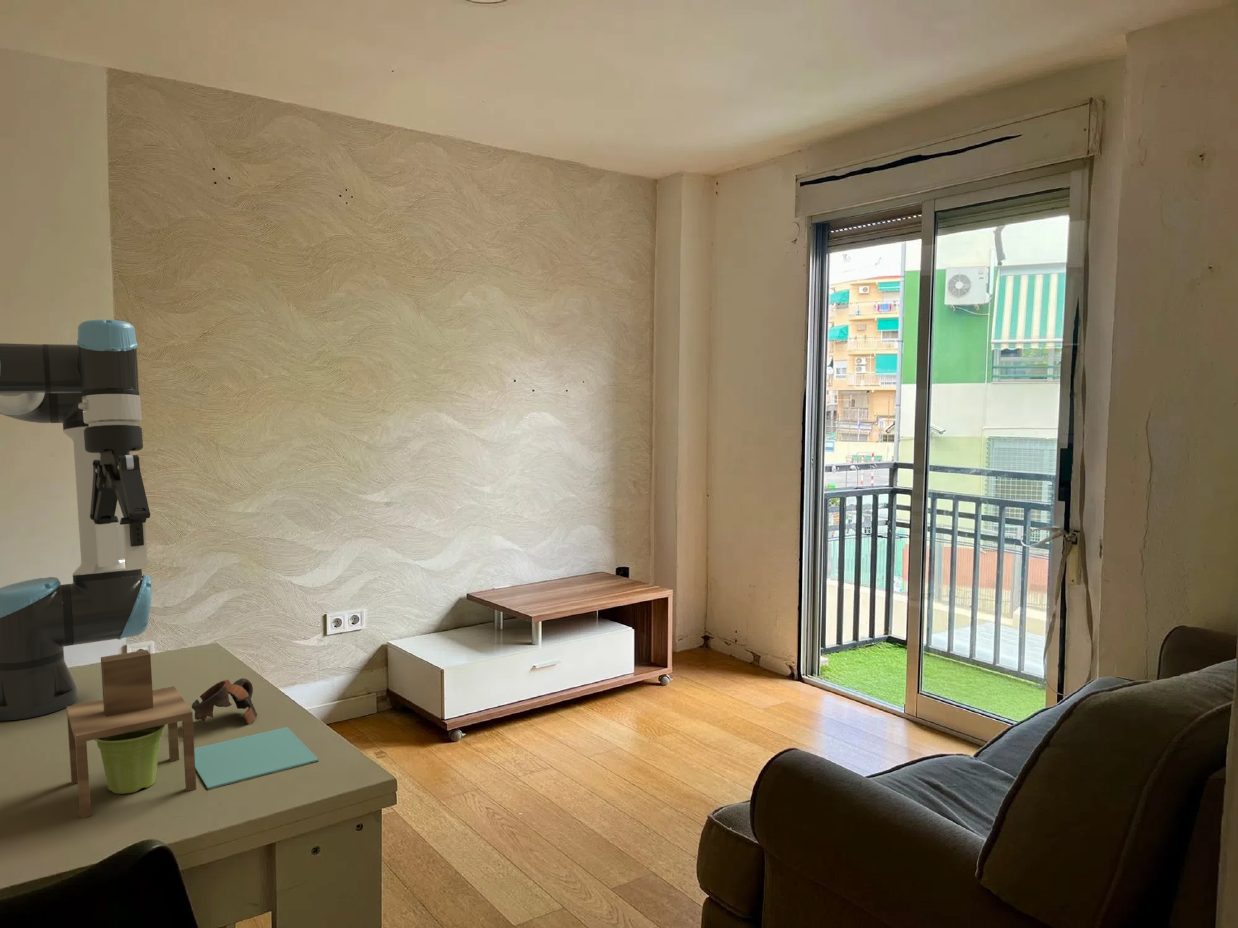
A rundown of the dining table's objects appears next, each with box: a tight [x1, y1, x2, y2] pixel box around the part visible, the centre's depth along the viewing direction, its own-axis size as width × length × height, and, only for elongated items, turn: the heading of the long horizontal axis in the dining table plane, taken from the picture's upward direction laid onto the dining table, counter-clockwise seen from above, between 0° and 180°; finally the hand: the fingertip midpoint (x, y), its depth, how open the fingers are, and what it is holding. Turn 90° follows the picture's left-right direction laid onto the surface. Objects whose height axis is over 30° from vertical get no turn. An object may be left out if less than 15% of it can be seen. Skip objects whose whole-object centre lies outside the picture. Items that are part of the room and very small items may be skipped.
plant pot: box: [94, 724, 167, 795], centre depth 128 cm, size 9×9×9 cm
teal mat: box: [194, 726, 319, 790], centre depth 138 cm, size 17×16×1 cm
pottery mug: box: [191, 678, 258, 726], centre depth 154 cm, size 12×10×8 cm
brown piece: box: [66, 649, 197, 819], centre depth 127 cm, size 14×14×20 cm
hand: (122, 567), depth 129 cm, fingers open, 13 cm apart
